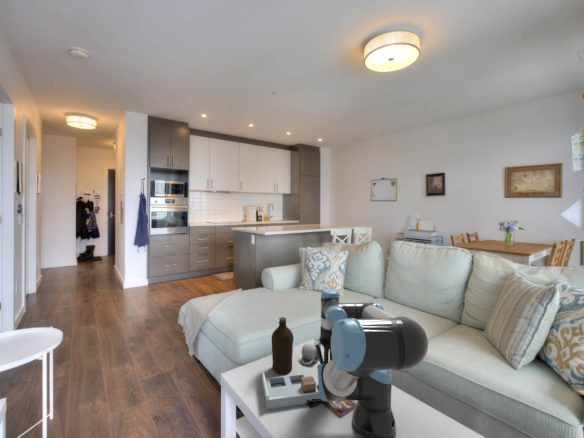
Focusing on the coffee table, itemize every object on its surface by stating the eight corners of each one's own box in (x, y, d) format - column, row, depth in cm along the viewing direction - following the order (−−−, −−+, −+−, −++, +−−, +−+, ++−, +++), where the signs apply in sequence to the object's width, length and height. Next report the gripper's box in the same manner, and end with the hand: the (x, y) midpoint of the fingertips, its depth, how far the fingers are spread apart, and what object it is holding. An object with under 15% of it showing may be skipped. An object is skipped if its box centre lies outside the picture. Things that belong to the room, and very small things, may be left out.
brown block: (315, 392, 116) (315, 383, 116) (304, 394, 115) (304, 384, 115) (312, 385, 121) (312, 376, 121) (301, 386, 120) (301, 377, 120)
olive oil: (274, 377, 131) (274, 324, 129) (269, 364, 141) (269, 315, 139) (296, 372, 134) (296, 321, 133) (289, 361, 144) (289, 313, 143)
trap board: (320, 401, 115) (320, 388, 114) (266, 409, 110) (266, 396, 110) (309, 377, 130) (309, 366, 130) (262, 383, 126) (262, 372, 125)
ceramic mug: (307, 353, 151) (307, 339, 151) (321, 357, 147) (321, 343, 147) (297, 363, 142) (297, 348, 142) (312, 368, 138) (312, 353, 138)
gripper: (340, 321, 124) (339, 373, 125) (312, 324, 121) (311, 377, 122) (347, 329, 116) (346, 383, 118) (317, 331, 114) (316, 388, 115)
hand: (328, 380), depth 120 cm, fingers closed
